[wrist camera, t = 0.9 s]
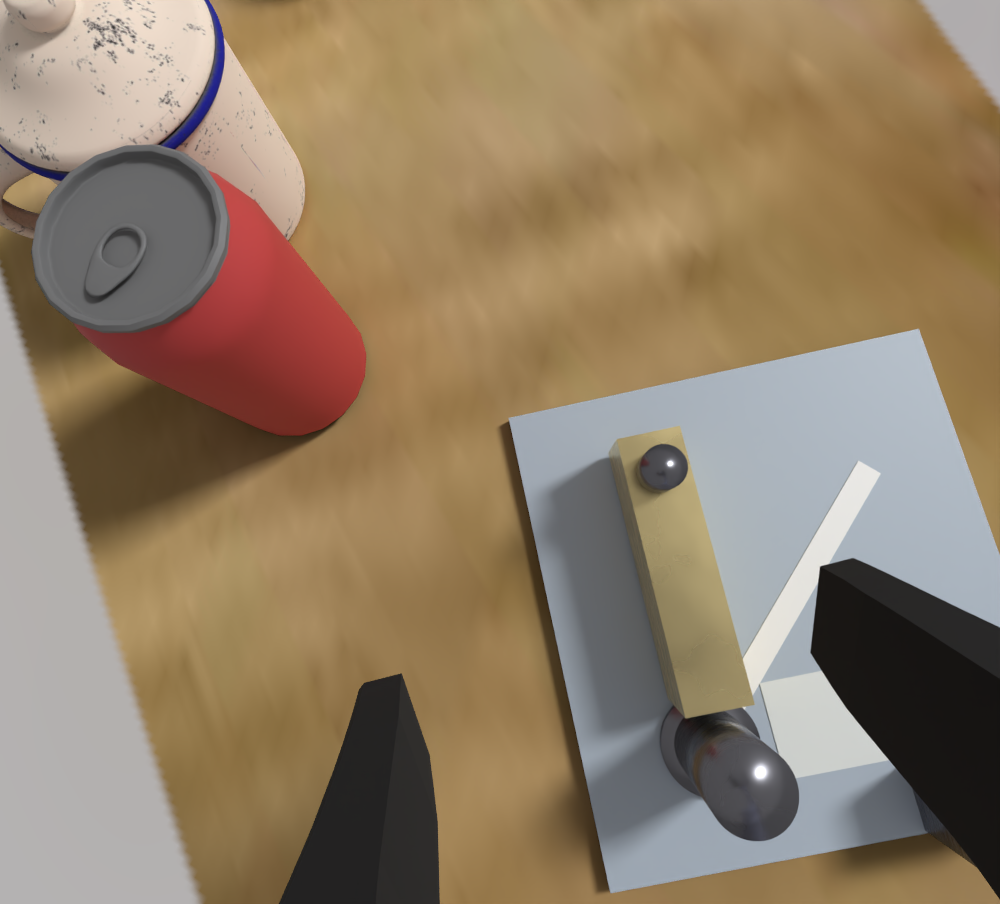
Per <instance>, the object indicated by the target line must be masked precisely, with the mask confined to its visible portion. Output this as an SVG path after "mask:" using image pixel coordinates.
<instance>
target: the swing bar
mask: <svg viewBox="0 0 1000 904" xmlns="http://www.w3.org/2000/svg"><path fill="white" fill-rule="evenodd" d="M608 455H609V459H610V463H611V467H612V471H613V475H614V479H615V483H616V488H617V492H618V496H619V500H620V504H621V508H622V512H623V516H624V520H625V525H626V529H627V533H628V537H629V541H630V545H631V549H632V553H633V557H634V562H635V566H636V570H637V574H638V578H639V582H640V586H641V590H642V594H643V598H644V603H645V607H646V611H647V615H648V619H649V623H650V627H651V631H652V635H653V640H654V644H655V648H656V652H657V656H658V660H659V664H660V668H661V672H662V676H663V681H664V685H665V689H666V693H667V697H668V699H669V700H670V702H671V703H672V704H673V705H674V706H675V707H676V708H677V709H678V711H679V712H680V713H681V714H682V715H683V716H684V717H685V718H691V717H696V716H701V715H706V714H711V713H716V712H721V711H726V710H731V709H736V708H741V707H746V706H752V705H755V703H754V699H753V695H752V692H751V688H750V684H749V681H748V677H747V673H746V669H745V666H744V662H743V658H742V655H741V651H740V647H739V643H738V640H737V636H736V632H735V629H734V625H733V621H732V617H731V614H730V610H729V606H728V603H727V599H726V595H725V591H724V588H723V584H722V580H721V576H720V573H719V569H718V565H717V562H716V558H715V554H714V550H713V547H712V543H711V539H710V536H709V532H708V528H707V524H706V521H705V517H704V513H703V510H702V506H701V502H700V498H699V495H698V491H697V487H696V484H695V480H694V476H693V472H692V469H691V465H690V461H689V458H688V454H687V450H686V446H685V443H684V439H683V435H682V431H681V428H680V426H676V427H671V428H666V429H662V430H657V431H652V432H648V433H643V434H639V435H634V436H629V437H625V438H620V439H616V441H615V443H614V444H613V446H612V448H611V449H610V451H609V452H608Z"/></svg>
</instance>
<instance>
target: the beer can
mask: <svg viewBox="0 0 1000 904" xmlns="http://www.w3.org/2000/svg"><path fill="white" fill-rule="evenodd" d="M31 253H32V259H33V265H34V271H35V278H36V281H37V283H38V285H39V286H40V288H41V290H42V292H43V293H44V295H45V297H46V298H47V300H48V302H49V304H50V305H51V306H53V307H54V308H55V309H56V310H58V311H59V312H60V313H61V314H63V315H64V316H65V317H66V318H68V319H69V320H70V321H71V322H73V324H74V325H75V326H76V328H77V329H78V330H79V332H80V333H81V334H82V335H83V336H84V337H86V338H87V339H88V340H89V341H90V342H91V343H92V344H94V345H95V346H96V347H97V348H99V349H100V350H101V351H102V352H103V353H105V354H106V355H107V356H108V357H110V358H111V359H112V360H113V361H115V362H116V363H117V364H119V365H121V366H123V367H125V368H127V369H130V370H132V371H134V372H136V373H138V374H141V375H143V376H145V377H147V378H149V379H151V380H154V381H156V382H158V383H160V384H162V385H165V386H167V387H169V388H171V389H173V390H175V391H178V392H180V393H182V394H184V395H186V396H189V397H191V398H193V399H195V400H197V401H200V402H202V403H204V404H206V405H208V406H210V407H213V408H215V409H217V410H219V411H221V412H224V413H226V414H228V415H230V416H232V417H234V418H237V419H239V420H241V421H243V422H245V423H248V424H250V425H252V426H254V427H256V428H259V429H261V430H264V431H267V432H270V433H273V434H276V435H304V434H307V433H311V432H314V431H317V430H320V429H323V428H325V427H326V426H328V425H329V424H330V423H332V422H333V421H335V420H336V419H338V418H339V417H341V416H342V415H343V414H344V413H345V411H346V410H347V409H348V408H349V406H350V405H351V404H352V403H353V401H354V400H355V399H356V397H357V395H358V393H359V390H360V388H361V385H362V382H363V380H364V377H365V367H366V352H365V348H364V344H363V341H362V337H361V334H360V332H359V331H358V329H357V328H356V326H355V325H354V324H353V322H352V321H351V319H350V318H349V316H348V315H347V314H346V313H345V311H344V310H343V309H342V308H341V306H340V305H339V304H338V303H337V301H336V300H335V299H334V298H333V296H332V295H331V294H330V293H329V291H328V290H327V289H326V288H325V286H324V285H323V284H322V283H321V282H320V280H319V279H318V278H317V277H316V275H315V274H314V273H313V272H312V270H311V269H310V268H309V267H308V265H307V264H306V263H305V262H304V260H303V259H302V258H301V257H300V255H299V254H298V253H297V252H296V250H295V249H294V248H293V247H292V245H291V244H290V243H289V242H288V240H287V239H286V238H285V237H284V235H283V234H282V233H281V232H280V230H279V229H278V228H277V227H276V225H275V224H274V223H273V222H272V221H271V219H270V218H269V217H268V216H267V214H266V213H265V212H264V211H263V209H262V208H261V207H260V206H259V204H258V203H257V202H256V201H255V200H253V199H252V198H251V197H249V196H248V195H246V194H245V193H243V192H242V191H241V190H239V189H238V188H236V187H235V186H234V185H232V184H231V183H229V182H228V181H226V180H225V179H224V178H222V177H221V176H219V175H218V174H216V173H213V172H211V171H209V170H207V169H206V168H205V167H204V166H202V165H201V164H199V163H198V162H197V161H195V160H194V159H192V158H191V157H190V156H188V155H187V154H185V153H184V152H181V151H178V150H174V149H171V148H167V147H164V146H160V145H157V144H150V145H126V146H123V147H119V148H116V149H113V150H110V151H107V152H104V153H101V154H98V155H95V156H94V157H92V158H91V159H89V160H88V161H86V162H84V163H83V164H81V165H80V166H78V167H77V168H75V169H74V170H72V171H71V172H69V174H68V175H67V176H66V177H65V178H64V179H63V180H62V181H61V183H60V184H59V185H58V186H57V187H56V188H55V189H54V190H53V191H52V193H51V194H50V195H49V197H48V199H47V201H46V203H45V205H44V207H43V209H42V211H41V213H40V215H39V217H38V219H37V221H36V227H35V233H34V239H33V245H32V251H31Z"/></svg>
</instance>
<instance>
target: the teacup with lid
mask: <svg viewBox="0 0 1000 904" xmlns="http://www.w3.org/2000/svg"><path fill="white" fill-rule="evenodd" d="M150 144H157V145H160V146H164V147H167V148H171V149H174V150H178V151H181V152H184V153H185V154H187V155H188V156H190V157H191V158H192V159H194V160H195V161H197V162H198V163H199V164H201V165H202V166H204V167H205V168H206V169H207V170H209V171H211V172H213V173H216V174H218V175H219V176H221V177H222V178H224V179H225V180H226V181H228V182H229V183H231V184H232V185H234V186H235V187H236V188H238V189H239V190H241V191H242V192H243V193H245V194H246V195H248V196H249V197H251V198H252V199H253V200H255V201H256V202H257V203H258V204H259V206H260V207H261V208H262V209H263V211H264V212H265V213H266V214H267V216H268V217H269V218H270V219H271V221H272V222H273V223H274V224H275V225H276V227H277V228H278V229H279V230H280V232H281V233H282V234H283V235H284V237H285V238H286V239H287V240H289V239H290V238H291V236H292V234H293V233H294V231H295V229H296V227H297V225H298V223H299V220H300V218H301V214H302V211H303V206H304V200H305V182H304V176H303V172H302V168H301V166H300V163H299V161H298V159H297V157H296V155H295V153H294V151H293V150H292V148H291V146H290V145H289V143H288V141H287V140H286V138H285V137H284V135H283V133H282V132H281V130H280V128H279V127H278V125H277V123H276V122H275V120H274V119H273V117H272V115H271V114H270V112H269V110H268V109H267V107H266V106H265V104H264V102H263V101H262V99H261V97H260V96H259V94H258V93H257V91H256V89H255V88H254V86H253V84H252V83H251V81H250V79H249V78H248V76H247V75H246V73H245V71H244V70H243V68H242V66H241V65H240V63H239V62H238V60H237V58H236V57H235V55H234V53H233V52H232V50H231V48H230V47H229V45H228V44H227V42H226V40H225V39H224V36H223V32H222V28H221V24H220V22H219V19H218V16H217V14H216V12H215V10H214V8H213V6H212V5H211V3H210V2H209V0H0V147H1V148H2V149H0V225H1V226H3V227H5V228H7V229H9V230H11V231H13V232H15V233H17V234H20V235H23V236H26V237H29V238H33V239H34V233H35V227H36V221H37V219H38V217H39V215H40V214H38V213H33V212H30V211H27V210H24V209H21V208H19V207H17V206H14V205H12V204H11V203H9V202H7V201H6V200H4V199H3V195H4V193H5V192H6V190H7V189H8V188H9V187H10V186H11V185H13V184H14V183H16V182H17V181H19V180H21V179H22V178H24V177H26V176H28V175H30V174H32V173H36V174H39V175H41V176H44V177H46V178H49V179H50V180H52V181H53V182H54V183H56V184H57V185H59V184H60V183H61V181H62V180H63V179H64V178H65V177H66V176H67V175H68V174H69V172H71V171H72V170H74V169H75V168H77V167H78V166H80V165H81V164H83V163H84V162H86V161H88V160H89V159H91V158H92V157H94V156H95V155H98V154H101V153H104V152H107V151H110V150H113V149H116V148H119V147H123V146H126V145H150Z"/></svg>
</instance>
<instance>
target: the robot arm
mask: <svg viewBox="0 0 1000 904" xmlns="http://www.w3.org/2000/svg"><path fill="white" fill-rule="evenodd" d="M810 653H811V655H812V656H813V658H814V660H815V661H816V663H817V664H818V666H819V667H820V669H821V671H822V672H823V674H824V675H825V677H826V679H827V680H828V682H829V683H830V685H831V686H832V688H833V689H834V691H835V692H836V694H837V695H838V697H839V698H840V700H841V701H842V703H843V704H844V706H845V707H846V708H847V710H848V711H849V712H850V713H851V715H852V716H853V717H854V718H855V720H856V721H857V722H858V723H859V725H860V726H861V727H862V728H863V729H864V731H865V732H866V733H867V734H868V736H869V737H870V738H871V739H872V740H873V742H874V743H875V744H876V745H877V746H878V748H879V749H880V750H881V751H882V753H883V754H884V755H885V756H886V757H887V758H888V760H889V761H890V762H891V763H892V764H893V766H894V767H895V768H896V769H897V770H898V772H899V773H900V774H901V775H902V776H903V778H904V779H905V780H906V781H907V782H908V784H909V785H910V786H911V787H912V788H913V790H914V791H915V792H916V793H917V794H918V796H919V797H920V798H921V799H922V800H923V802H924V803H925V804H926V805H927V806H928V807H929V809H930V810H931V811H932V812H933V813H934V815H935V816H936V817H937V818H938V819H939V821H940V822H941V823H942V824H943V825H944V827H945V828H946V829H947V830H948V831H949V833H950V834H951V835H952V836H953V837H954V839H955V840H956V841H957V842H958V844H959V845H960V846H961V848H962V849H963V850H964V851H965V853H966V854H967V855H968V857H969V858H970V859H971V860H972V862H973V863H974V864H975V865H976V867H977V868H978V869H979V871H980V872H981V873H982V875H983V876H984V878H985V879H986V880H987V882H988V883H989V885H990V886H991V888H992V889H993V890H994V892H995V893H996V895H997V896H998V897H999V899H1000V627H998V626H996V625H994V624H992V623H990V622H988V621H985V620H983V619H981V618H979V617H977V616H975V615H973V614H971V613H969V612H967V611H964V610H962V609H960V608H958V607H956V606H954V605H952V604H950V603H948V602H946V601H944V600H942V599H940V598H937V597H935V596H933V595H931V594H929V593H927V592H925V591H923V590H921V589H919V588H917V587H915V586H913V585H911V584H909V583H907V582H904V581H902V580H900V579H898V578H896V577H894V576H892V575H890V574H888V573H886V572H884V571H882V570H879V569H877V568H875V567H873V566H871V565H869V564H866V563H864V562H862V561H860V560H857V559H855V558H851V559H847V560H843V561H839V562H835V563H831V564H827V565H823V566H820V570H819V579H818V588H817V597H816V606H815V615H814V624H813V633H812V642H811V651H810ZM279 904H440V900H439V857H438V821H437V813H436V804H435V795H434V787H433V779H432V771H431V763H430V755H429V752H428V749H427V746H426V743H425V740H424V737H423V735H422V732H421V729H420V726H419V723H418V720H417V717H416V714H415V711H414V708H413V705H412V702H411V700H410V697H409V694H408V691H407V688H406V685H405V682H404V679H403V676H402V673H401V674H397V675H394V676H390V677H386V678H382V679H378V680H374V681H370V682H366V683H364V684H363V685H362V686H361V688H360V689H359V692H358V695H357V699H356V703H355V706H354V710H353V713H352V716H351V720H350V723H349V726H348V729H347V732H346V735H345V738H344V741H343V745H342V747H341V750H340V753H339V756H338V759H337V762H336V765H335V768H334V771H333V773H332V776H331V779H330V781H329V784H328V787H327V789H326V792H325V794H324V797H323V800H322V802H321V805H320V808H319V810H318V813H317V815H316V818H315V821H314V823H313V826H312V828H311V831H310V833H309V836H308V838H307V840H306V843H305V845H304V847H303V850H302V852H301V854H300V857H299V859H298V861H297V864H296V866H295V868H294V870H293V873H292V875H291V877H290V880H289V882H288V884H287V887H286V889H285V891H284V894H283V896H282V898H281V900H280V903H279Z"/></svg>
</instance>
